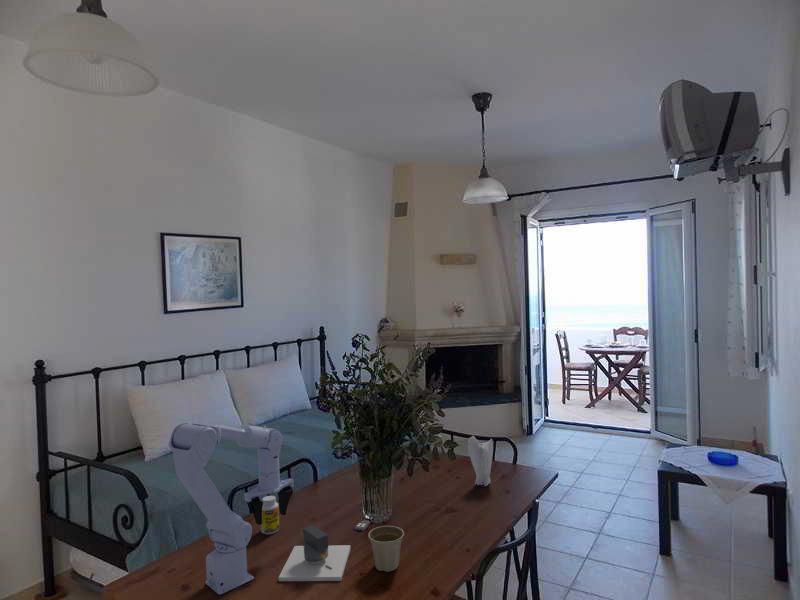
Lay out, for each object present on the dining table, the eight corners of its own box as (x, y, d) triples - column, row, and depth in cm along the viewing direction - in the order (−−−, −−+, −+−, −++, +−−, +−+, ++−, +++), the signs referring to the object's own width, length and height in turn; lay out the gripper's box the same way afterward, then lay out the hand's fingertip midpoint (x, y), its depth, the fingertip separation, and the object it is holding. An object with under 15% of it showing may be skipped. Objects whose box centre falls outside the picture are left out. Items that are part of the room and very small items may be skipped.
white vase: (497, 482, 190) (495, 434, 190) (488, 490, 183) (487, 440, 183) (476, 478, 195) (475, 431, 195) (467, 486, 188) (466, 437, 188)
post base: (341, 580, 129) (340, 572, 129) (278, 581, 130) (278, 573, 130) (350, 548, 145) (350, 541, 145) (294, 549, 146) (294, 542, 146)
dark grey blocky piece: (298, 554, 139) (297, 530, 139) (319, 546, 143) (318, 523, 143) (313, 566, 132) (312, 541, 132) (335, 557, 136) (334, 533, 136)
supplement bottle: (264, 537, 154) (262, 503, 154) (258, 530, 159) (257, 497, 159) (282, 531, 157) (280, 498, 157) (275, 525, 162) (274, 493, 162)
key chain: (364, 533, 155) (364, 528, 155) (353, 531, 157) (353, 526, 157) (381, 515, 167) (381, 510, 167) (371, 513, 169) (370, 509, 169)
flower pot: (385, 553, 142) (384, 522, 142) (412, 563, 136) (411, 531, 136) (362, 568, 135) (360, 535, 135) (389, 579, 129) (388, 545, 129)
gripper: (252, 481, 136) (254, 532, 136) (299, 467, 146) (300, 514, 146) (239, 475, 141) (241, 524, 141) (285, 461, 151) (287, 507, 151)
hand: (271, 518), depth 144 cm, fingers open, 7 cm apart
